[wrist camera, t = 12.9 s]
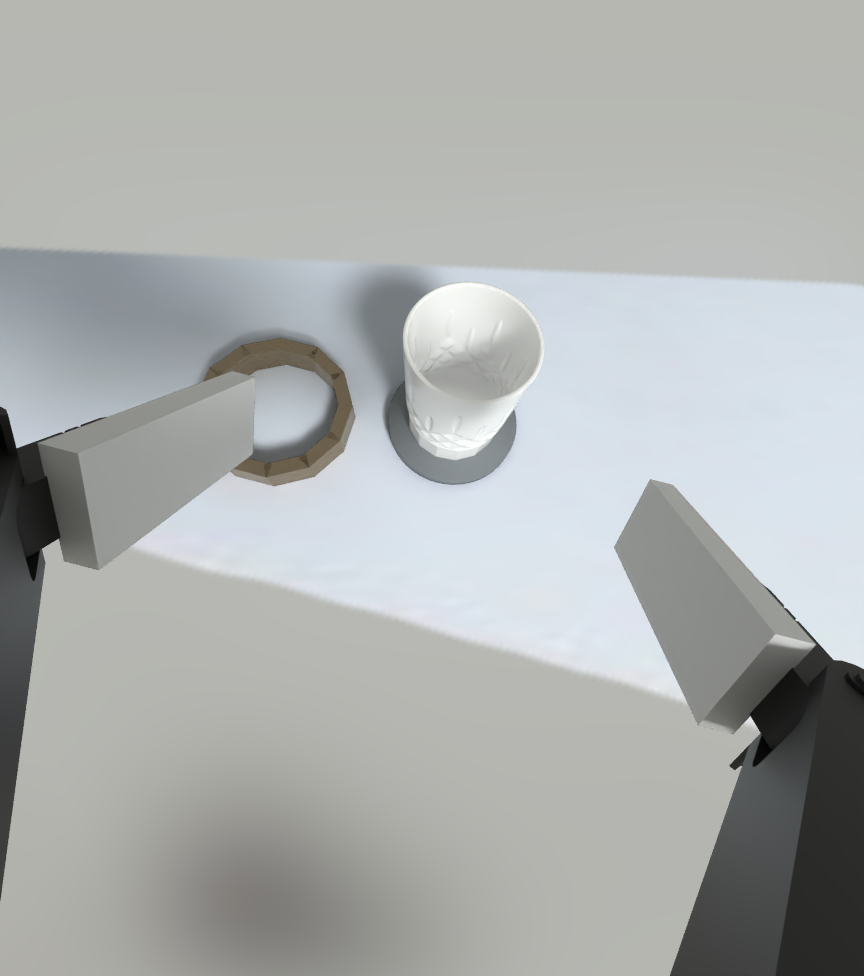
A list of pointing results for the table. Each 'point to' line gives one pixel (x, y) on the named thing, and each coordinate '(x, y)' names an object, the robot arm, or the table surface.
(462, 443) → the white cup
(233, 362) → the collar
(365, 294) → the table surface
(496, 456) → the coaster
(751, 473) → the table surface
